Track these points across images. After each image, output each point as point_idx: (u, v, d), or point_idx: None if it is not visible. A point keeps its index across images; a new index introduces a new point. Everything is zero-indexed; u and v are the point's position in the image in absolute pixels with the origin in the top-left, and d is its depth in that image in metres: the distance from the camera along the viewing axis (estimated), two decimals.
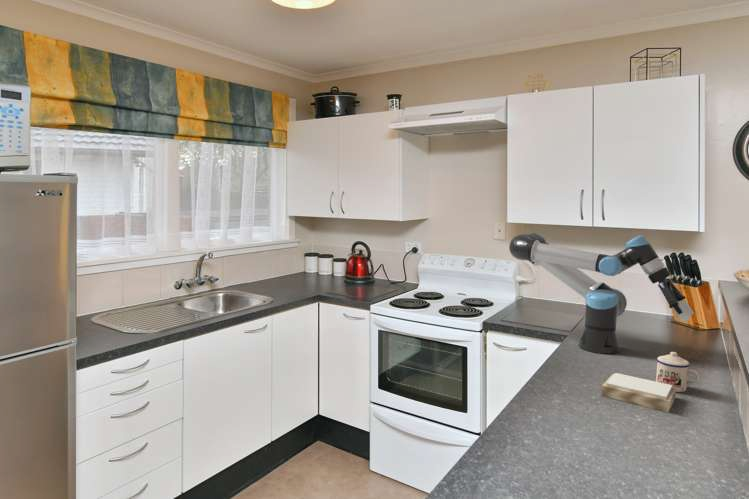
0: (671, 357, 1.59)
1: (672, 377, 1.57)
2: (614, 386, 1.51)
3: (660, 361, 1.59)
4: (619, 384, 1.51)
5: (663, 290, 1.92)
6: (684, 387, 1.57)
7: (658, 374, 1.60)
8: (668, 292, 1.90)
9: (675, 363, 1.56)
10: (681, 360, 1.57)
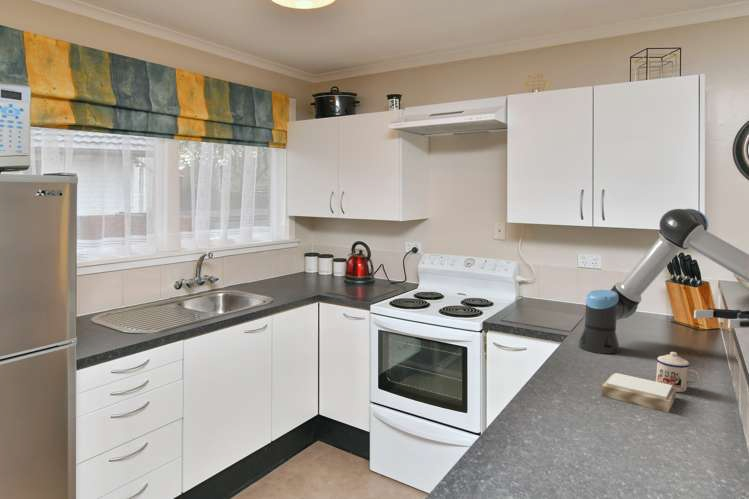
0: (671, 357, 1.59)
1: (672, 377, 1.57)
2: (614, 386, 1.51)
3: (660, 361, 1.59)
4: (619, 384, 1.51)
5: None
6: (684, 387, 1.57)
7: (658, 374, 1.60)
8: None
9: (675, 363, 1.56)
10: (681, 360, 1.57)
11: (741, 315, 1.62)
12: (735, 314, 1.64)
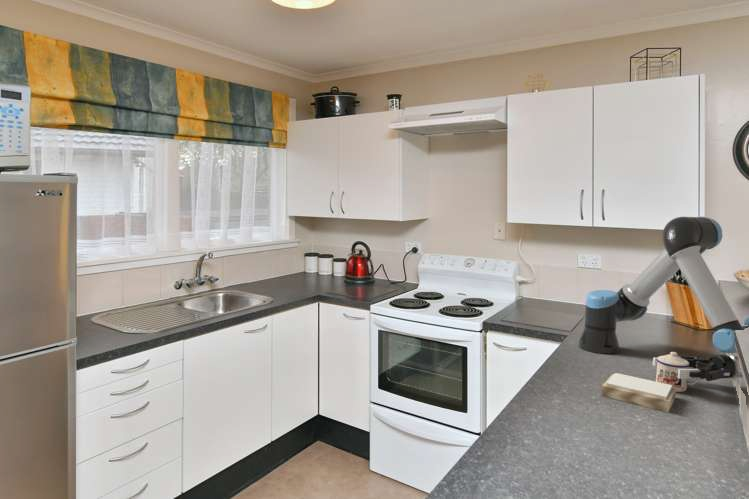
0: (671, 357, 1.58)
1: (672, 377, 1.56)
2: (614, 386, 1.51)
3: (660, 361, 1.59)
4: (619, 384, 1.51)
5: (722, 373, 1.54)
6: (684, 387, 1.57)
7: (658, 374, 1.60)
8: (719, 377, 1.53)
9: (675, 363, 1.56)
10: (681, 360, 1.57)
11: (699, 363, 1.61)
12: (694, 362, 1.63)
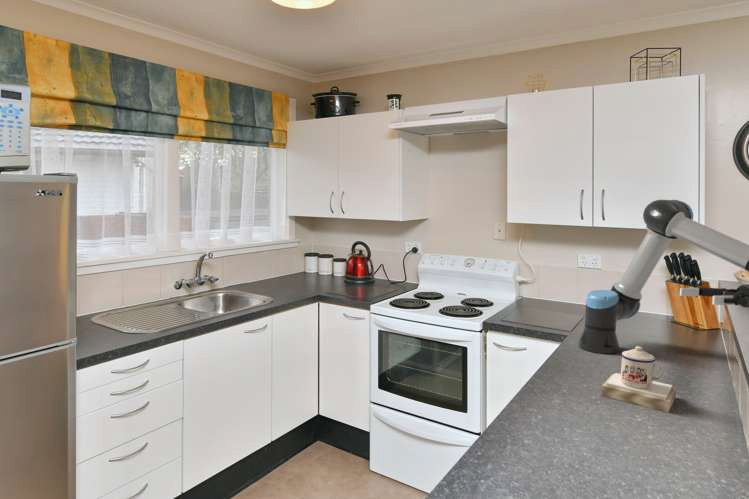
0: (636, 352, 1.49)
1: (637, 373, 1.47)
2: (614, 386, 1.51)
3: (625, 356, 1.50)
4: (619, 384, 1.51)
5: None
6: (650, 383, 1.48)
7: (623, 370, 1.51)
8: None
9: (641, 358, 1.47)
10: (647, 355, 1.48)
11: (726, 293, 1.62)
12: (721, 292, 1.64)
